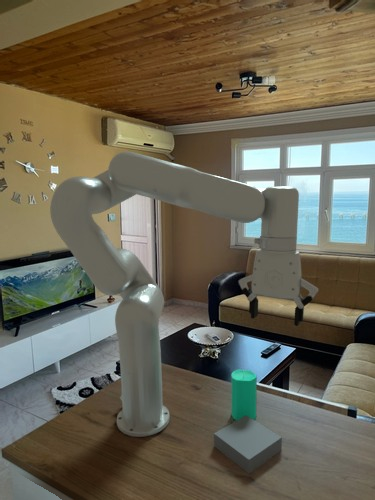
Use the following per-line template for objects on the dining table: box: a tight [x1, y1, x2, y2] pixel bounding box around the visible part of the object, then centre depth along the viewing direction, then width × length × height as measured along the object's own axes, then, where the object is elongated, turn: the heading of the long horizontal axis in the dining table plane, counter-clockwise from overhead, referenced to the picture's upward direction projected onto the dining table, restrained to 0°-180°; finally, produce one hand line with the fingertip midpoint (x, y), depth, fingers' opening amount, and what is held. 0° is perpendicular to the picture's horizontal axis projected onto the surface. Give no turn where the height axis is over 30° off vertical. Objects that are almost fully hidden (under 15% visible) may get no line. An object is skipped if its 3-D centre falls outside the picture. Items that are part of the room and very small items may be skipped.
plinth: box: [213, 415, 283, 474], centre depth 76 cm, size 10×10×3 cm
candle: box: [230, 369, 258, 421], centre depth 87 cm, size 6×6×12 cm
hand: (275, 320), depth 81 cm, fingers open, 9 cm apart
